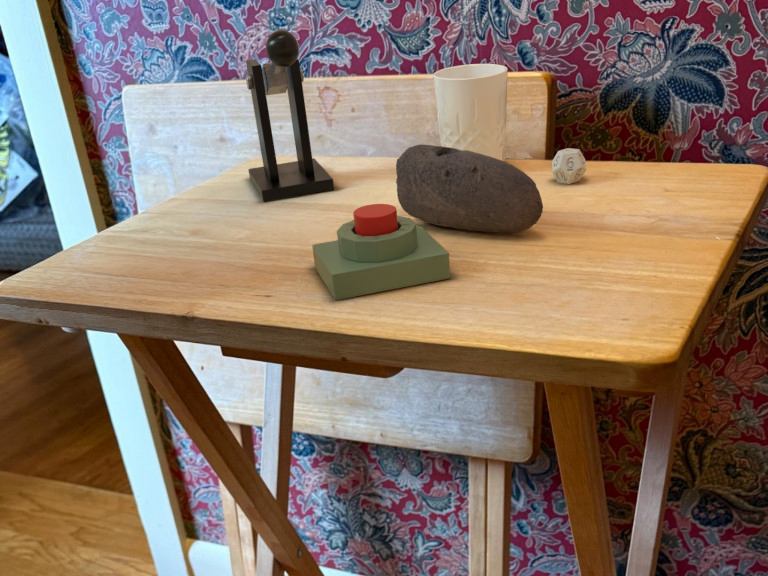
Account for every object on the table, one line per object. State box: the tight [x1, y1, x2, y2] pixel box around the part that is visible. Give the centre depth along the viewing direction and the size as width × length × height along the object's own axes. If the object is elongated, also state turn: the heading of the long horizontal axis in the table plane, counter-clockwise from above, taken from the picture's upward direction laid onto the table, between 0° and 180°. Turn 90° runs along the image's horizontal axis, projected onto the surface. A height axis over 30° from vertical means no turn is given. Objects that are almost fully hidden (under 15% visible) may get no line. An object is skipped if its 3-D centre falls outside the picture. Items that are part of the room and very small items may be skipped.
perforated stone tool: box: [395, 144, 544, 234], centre depth 82 cm, size 15×5×7 cm, turn 51°
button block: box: [311, 214, 451, 301], centre depth 76 cm, size 10×8×4 cm
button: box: [352, 203, 398, 236], centre depth 74 cm, size 4×4×2 cm
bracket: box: [245, 58, 335, 203], centre depth 98 cm, size 10×8×13 cm
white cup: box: [432, 63, 509, 162], centre depth 97 cm, size 8×8×10 cm
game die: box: [550, 147, 587, 185], centre depth 93 cm, size 4×4×3 cm
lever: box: [262, 29, 300, 96], centre depth 91 cm, size 12×3×3 cm, turn 16°
